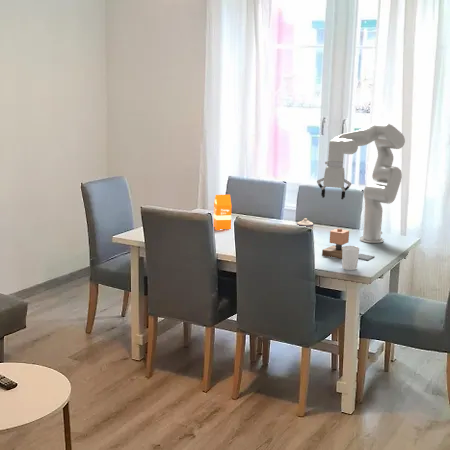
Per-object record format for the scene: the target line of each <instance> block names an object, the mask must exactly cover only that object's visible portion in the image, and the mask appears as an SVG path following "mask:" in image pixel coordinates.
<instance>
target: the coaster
mask: <svg viewBox="0 0 450 450" xmlns="http://www.w3.org/2000/svg"><path fill="white" fill-rule="evenodd" d="M374 258H375V256H374V255H370V254H365V253H359V256H358V260H362V261H370V260H372V259H374Z"/></svg>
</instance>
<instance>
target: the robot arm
mask: <svg viewBox="0 0 450 450" xmlns="http://www.w3.org/2000/svg"><path fill="white" fill-rule="evenodd" d="M373 142H374V144H375V147H376V150H377V158H376V162H375V164H374V168H373V170H372V176H371V177H372V180H373V181H374V182H377V183H369V184H367V185H366V186H365V187H364V189H363V197H364V215H363V217H364V218H363V228H362V229H363V232H362V236H361V237H359V241H361V242H363V243H367V244H380V243H383V242H384V238H383V237H382V235H383V232H382V221H383V206H382V204H387V205H389V204H390V205H391V204H392V203H393V202H394V201H395V199H396V198H397V195H398V191H399V188H400V184H401V182H402V176H403V175H402V174H403V173H402V170H401V169H400V167H398V166H394V165H393V163H394V154H393V151H392V150H393V149H394V150H400V149H402V148H403V147H404V145H405V143H406V138H405V136H404V134H403V133H402V132H401V131H400V130H399V129H398V128H397V127H395V126H394V125H392V124H390V123H384V122H373V123H371V124H369V125H367V126H365V127H362V128H361V129H358V130H353V131H350V132H345V133H342V134H340V135H338V136H335V137H334V138H333V139H331V140H330V141H329V144H328V154H327V155H328V158H327V159H328V160H327V161H324V164H325V165H327V166H325V169H324V174H323V177H322V178H320V179H318V180H316V183H317V184H318V187H319V188H320V190H321V198H323V199H324V198H325V196H326V188H335V189H340V190H341V197H340V198H341V200H344V198H345V197H346V191H347V190H349V189H350V187H351V185H352V182H351V181H348V180H347V179H345V178H346V177H345V168H344V156H345V155H353V154H355V153H357V151H358V149H359V147H363V146H367V145H369V144H371V143H373ZM391 149H392V150H391ZM321 182H323V184H322V183H321ZM379 183H380V184H379ZM381 183H382V184H381ZM345 184H347V186H346V187H345Z"/></svg>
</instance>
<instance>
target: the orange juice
mask: <svg viewBox="0 0 450 450" xmlns="http://www.w3.org/2000/svg"><path fill="white" fill-rule="evenodd" d="M232 208H233V207H232V199H231V194H215V197H214V202H213V228H214V227H215V228H214V229H215V231H221V230H220V229H231V230H232Z"/></svg>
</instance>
